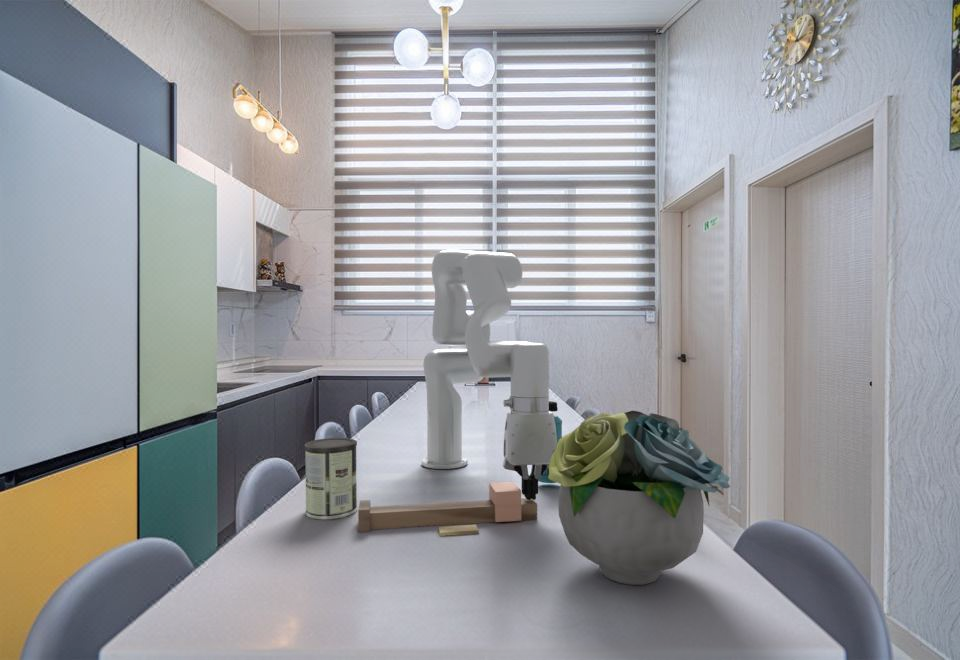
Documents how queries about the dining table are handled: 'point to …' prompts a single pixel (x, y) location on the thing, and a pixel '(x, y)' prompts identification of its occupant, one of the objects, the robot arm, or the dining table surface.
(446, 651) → the dining table surface
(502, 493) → the block
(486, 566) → the dining table surface
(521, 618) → the dining table surface
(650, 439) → the flower arrangement
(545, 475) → the beverage bottle
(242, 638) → the dining table surface
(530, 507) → the beam
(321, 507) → the coffee can
